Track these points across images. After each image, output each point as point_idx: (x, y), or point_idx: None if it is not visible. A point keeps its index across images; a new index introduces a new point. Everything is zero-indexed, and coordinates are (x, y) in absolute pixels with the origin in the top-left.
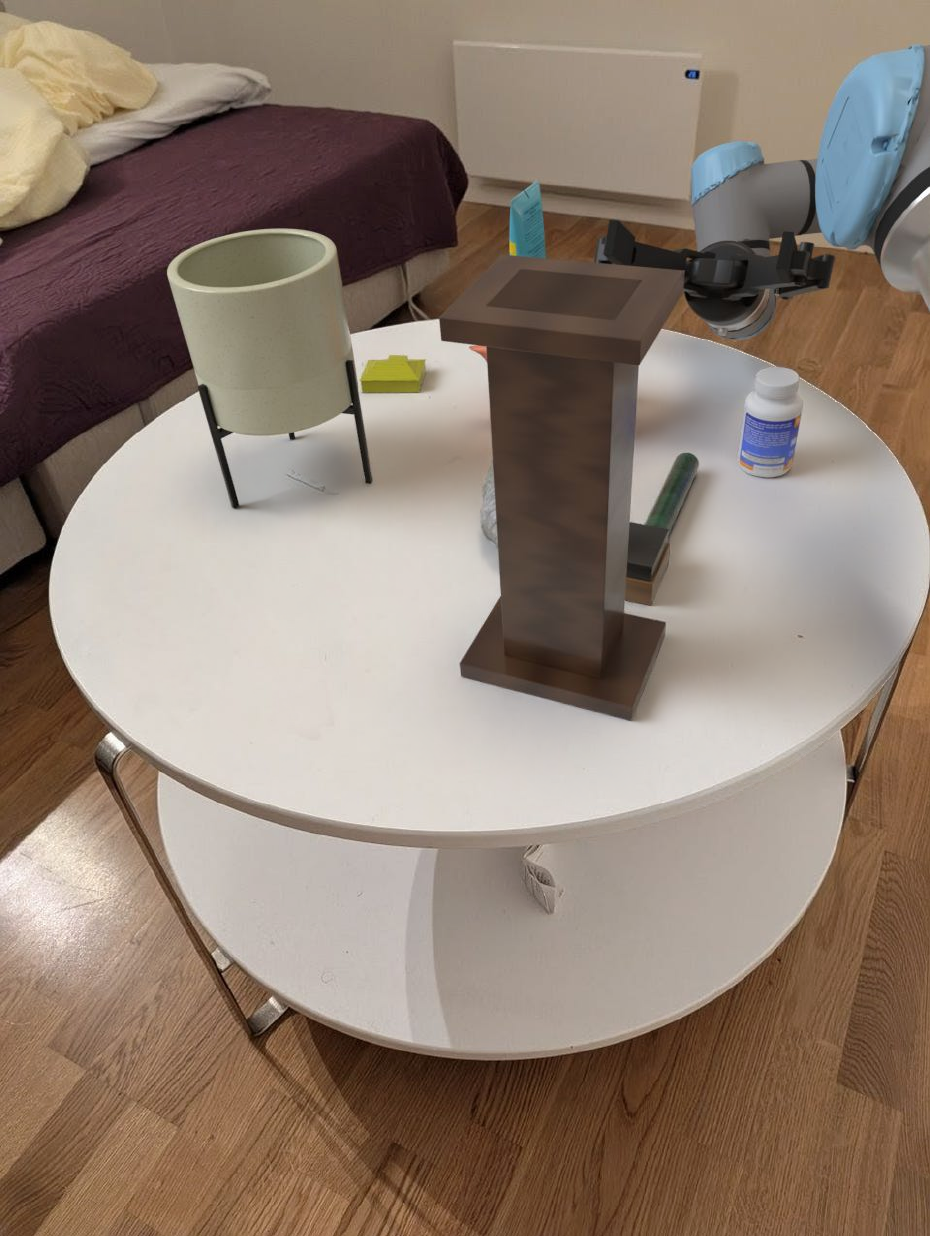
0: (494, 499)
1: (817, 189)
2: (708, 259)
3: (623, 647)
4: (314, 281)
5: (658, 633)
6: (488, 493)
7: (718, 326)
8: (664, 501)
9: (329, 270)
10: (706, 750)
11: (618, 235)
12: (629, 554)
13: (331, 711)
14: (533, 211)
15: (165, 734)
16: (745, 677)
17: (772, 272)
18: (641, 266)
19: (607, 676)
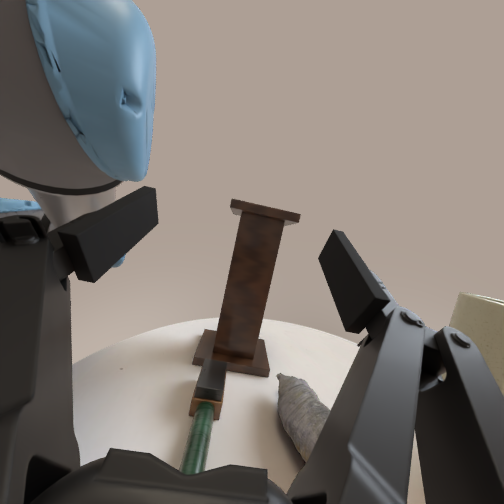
0: (307, 385)
1: (144, 138)
2: (228, 469)
3: (210, 345)
4: (476, 303)
5: (197, 351)
6: (317, 396)
7: None
8: (196, 454)
9: (500, 309)
10: (180, 328)
11: (329, 246)
12: (217, 365)
13: (288, 336)
14: None
15: (317, 331)
16: (159, 349)
17: (60, 321)
18: (357, 362)
19: (214, 336)
